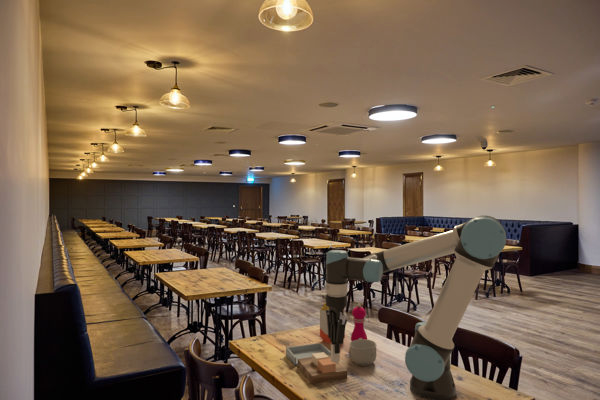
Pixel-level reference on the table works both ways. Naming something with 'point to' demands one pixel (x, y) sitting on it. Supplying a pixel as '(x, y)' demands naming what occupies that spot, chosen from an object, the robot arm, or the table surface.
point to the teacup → (363, 351)
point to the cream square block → (318, 357)
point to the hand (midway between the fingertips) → (335, 361)
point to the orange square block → (326, 366)
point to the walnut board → (316, 375)
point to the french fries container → (324, 324)
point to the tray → (305, 351)
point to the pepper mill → (358, 323)
